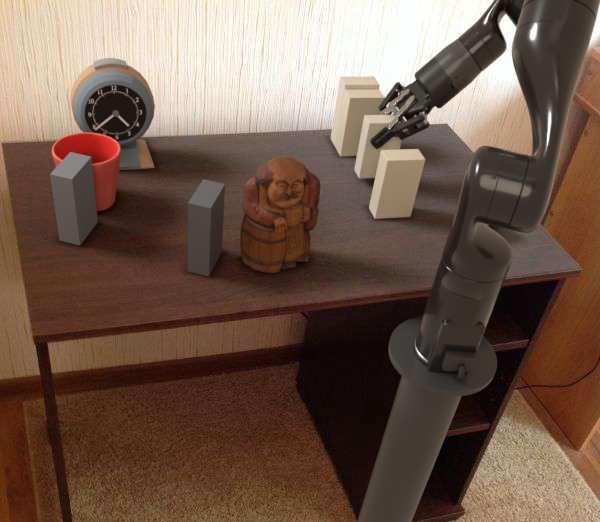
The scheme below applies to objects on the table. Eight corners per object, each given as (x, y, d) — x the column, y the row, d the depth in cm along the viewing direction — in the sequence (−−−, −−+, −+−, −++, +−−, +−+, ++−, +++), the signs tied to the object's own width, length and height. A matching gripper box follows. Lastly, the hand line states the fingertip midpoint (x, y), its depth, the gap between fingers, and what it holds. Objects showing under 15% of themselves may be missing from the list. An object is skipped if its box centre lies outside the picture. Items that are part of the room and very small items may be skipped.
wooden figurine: (253, 279, 120) (261, 178, 106) (235, 256, 123) (242, 156, 110) (316, 263, 124) (332, 165, 111) (298, 242, 128) (311, 144, 115)
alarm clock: (80, 172, 134) (69, 74, 122) (73, 144, 141) (62, 48, 128) (160, 167, 139) (157, 72, 126) (150, 140, 145) (147, 47, 132)
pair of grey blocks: (208, 276, 119) (211, 208, 110) (59, 240, 121) (49, 170, 111) (221, 251, 123) (225, 184, 114) (78, 217, 125) (69, 148, 116)
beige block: (358, 178, 141) (369, 123, 133) (354, 170, 143) (364, 115, 135) (393, 177, 143) (406, 122, 135) (388, 168, 145) (400, 114, 137)
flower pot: (52, 187, 130) (45, 134, 123) (115, 179, 134) (112, 128, 127) (65, 221, 124) (58, 168, 117) (131, 212, 128) (128, 160, 121)
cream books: (410, 217, 137) (427, 152, 128) (374, 219, 135) (389, 154, 126) (362, 137, 155) (374, 76, 146) (330, 138, 153) (339, 76, 144)
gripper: (423, 41, 133) (347, 108, 139) (453, 77, 125) (371, 147, 130) (442, 70, 139) (368, 134, 145) (473, 107, 130) (393, 173, 136)
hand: (370, 139), depth 137 cm, fingers closed on beige block, 3 cm apart
